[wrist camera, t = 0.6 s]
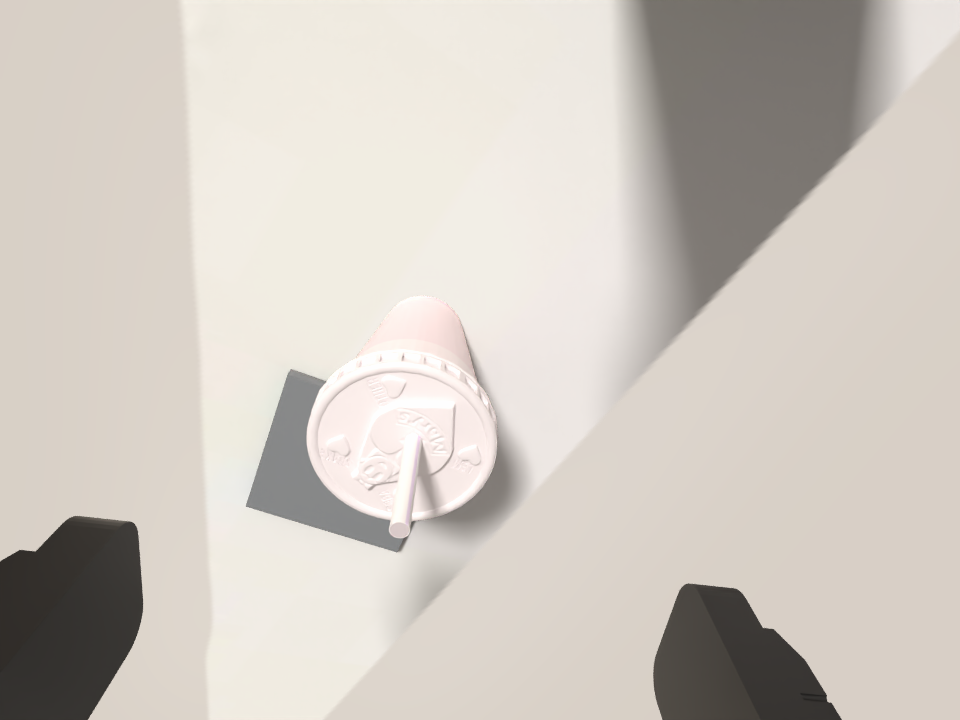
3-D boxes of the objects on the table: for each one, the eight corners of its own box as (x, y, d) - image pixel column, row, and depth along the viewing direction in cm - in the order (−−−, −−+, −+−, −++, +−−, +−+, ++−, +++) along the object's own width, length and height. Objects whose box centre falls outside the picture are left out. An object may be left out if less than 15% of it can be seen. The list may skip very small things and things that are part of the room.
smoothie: (518, 335, 29) (555, 545, 16) (423, 415, 31) (388, 658, 18) (423, 238, 27) (379, 391, 14) (326, 329, 29) (211, 537, 16)
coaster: (290, 369, 29) (287, 374, 29) (453, 426, 31) (453, 432, 30) (249, 499, 33) (246, 506, 32) (398, 544, 34) (397, 552, 34)
